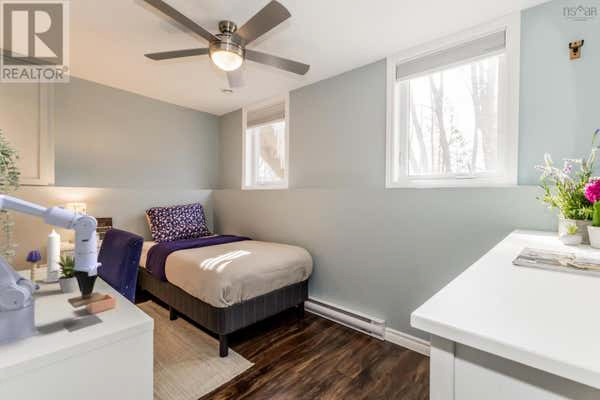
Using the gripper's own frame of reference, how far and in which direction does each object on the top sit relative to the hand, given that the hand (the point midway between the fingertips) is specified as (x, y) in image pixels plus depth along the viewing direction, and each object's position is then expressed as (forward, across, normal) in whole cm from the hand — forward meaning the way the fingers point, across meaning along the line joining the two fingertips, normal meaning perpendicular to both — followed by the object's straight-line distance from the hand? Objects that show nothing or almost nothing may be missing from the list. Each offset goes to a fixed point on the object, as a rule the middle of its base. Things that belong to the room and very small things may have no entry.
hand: (86, 293), depth 87 cm
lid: (+2, 0, 0) cm, 3 cm away
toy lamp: (+10, +53, +6) cm, 54 cm away
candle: (+10, +62, -2) cm, 63 cm away
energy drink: (+10, +53, -10) cm, 55 cm away
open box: (+9, +7, -6) cm, 13 cm away
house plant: (+10, +40, -2) cm, 41 cm away
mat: (+9, -1, +1) cm, 10 cm away
